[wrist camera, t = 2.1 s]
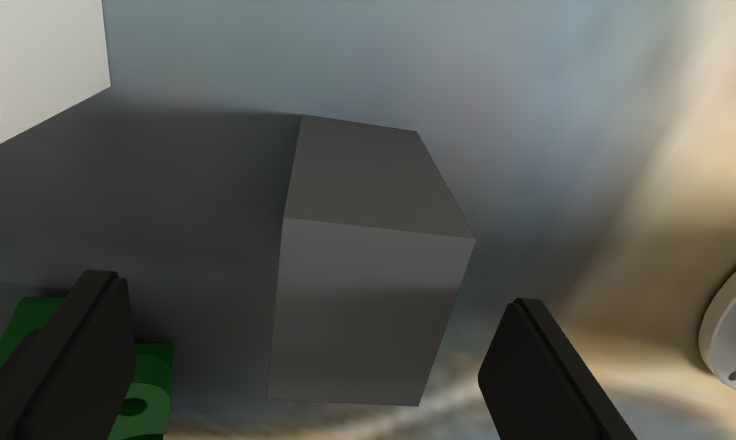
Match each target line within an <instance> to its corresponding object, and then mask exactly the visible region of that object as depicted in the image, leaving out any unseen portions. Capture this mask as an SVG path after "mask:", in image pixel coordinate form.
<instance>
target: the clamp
mask: <svg viewBox="0 0 736 440" xmlns="http://www.w3.org/2000/svg"><path fill="white" fill-rule="evenodd" d="M63 300H64V298H61V297H24V298H22V299H21V301H20V302H19V304H18V306H17V308H16V310H15V312H14V314H13V316H12V318H11V320H10V322H9V325H8V327H7V329H6V331H5V333H4V335H3V337H2V339H1V341H0V368H1V366H2V365H3V364H4V363H5V361H6V360H7V359H8V357H9V356H10V355H11V353H12V352H13V351H14V350H15V348H16V347H17V346H18V344H19V343H20V342H21V340H22V339H23V338H24V337H25V336H26V335H27V334H28V333H29V332H30V331H31V330H33V329H42V328H43V327H44V325H45V324H46V323H47V321H48V320H49V319H50V317H51V316H52V315H53V313H54V312H55V310H56V309H57V308H58V306H59V305H60V304H61V302H62V301H63ZM134 346H135V354H136V371H135V375H134V378H133V381H132V383H131V385H130V388H129V390H128V392H127V395H126V397H125V399H124V402H123V404H122V406H121V409H120V411H119V413H118V416H117V418H116V420H115V423H114V425H113V427H112V430H111V432H110V434H109V437H108V439H107V440H163V434H167V429H168V421H169V414H170V406H171V391H172V369H171V368H172V351H173V344H168V343H141V344H134Z"/></svg>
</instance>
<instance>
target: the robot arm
mask: <svg viewBox="0 0 736 440" xmlns="http://www.w3.org/2000/svg"><path fill="white" fill-rule="evenodd" d="M699 350H700V354H701V358H702V360H703V361H704V363H705V364H706V365H707V367H708V368H709V369H710V370H711V371H712V372H713V373H714V374H715V375H716V376H717V378H718V379H719V380H720V381H721V382H723V383H724V384H726V385H727V386H729V387H731V388H733V389H735V390H736V272H735V273H734V274H733V275H732V276H731V277H730V278H729V279H728V280H727V281H726V282H725V284H724V285H723V286H722V288H721V289H720V290H719V291H718V293H717V294H716V295H715V297H714V298H713V300H712V302H711V304H710V306H709V307H708V309H707V311H706V313H705V315H704V318H703V321H702V325H701V328H700V331H699ZM135 371H136V354H135V346H134V337H133V329H132V320H131V312H130V304H129V295H128V287H127V281H126V279H124V278H119V276H118V274H117V272H115V271H101V270H86V271H85V272H84V273H83V274H82V275H81V277H80V278H79V279H78V281H77V282H76V283H75V285H74V286H73V287H72V289H71V290H70V292H69V293H68V294H67V296H66V297H65V298H64V300H63V301H62V302H61V304H60V305H59V306H58V308H57V309H56V310H55V312H54V313H53V315H52V316H51V317H50V319H49V320H48V321H47V323H46V324H45V325H44V327H43V328H42V329H33V330H31V331H30V332H29V333H28V334H27V335H26V336H25V337H24V338H23V339H22V340H21V342H20V343H19V344H18V346H17V347H16V348H15V350H14V351H13V352H12V353H11V355H10V356H9V357H8V359H7V360H6V361H5V363H4V364H3V365H2V366H1V368H0V440H107V439H108V437H109V434H110V432H111V430H112V427H113V425H114V423H115V420H116V418H117V416H118V413H119V411H120V409H121V406H122V404H123V402H124V399H125V397H126V395H127V392H128V390H129V388H130V385H131V383H132V381H133V378H134V375H135ZM478 384H479V387H480V390H481V392H482V395H483V397H484V400H485V402H486V405H487V407H488V409H489V412H490V414H491V417H492V419H493V422H494V424H495V427H496V429H497V432H498V434H499V437H500V439H501V440H638V439H637V438H636V437H635V435H634V434H633V432H632V431H631V429H630V428H629V426H628V425H627V424H626V422H625V421H624V419H623V418H622V416H621V415H620V413H619V412H618V411H617V409H616V408H615V406H614V405H613V403H612V402H611V400H610V399H609V398H608V396H607V395H606V393H605V392H604V390H603V389H602V388H601V386H600V385H599V383H598V382H597V380H596V379H595V377H594V376H593V375H592V373H591V372H590V370H589V369H588V367H587V366H586V364H585V363H584V362H583V360H582V359H581V357H580V356H579V354H578V353H577V352H576V350H575V349H574V347H573V346H572V344H571V343H570V341H569V340H568V339H567V337H566V336H565V334H564V333H563V331H562V330H561V328H560V327H559V326H558V324H557V323H556V321H555V320H554V318H553V317H552V315H551V314H550V313H549V311H548V310H547V308H546V307H545V305H544V304H543V303H542V302H541V301H540V300H538V299H529V298H516V299H515V300H514V301H513V303H509V304H508V306H507V307H506V310H505V312H504V314H503V317H502V319H501V321H500V324H499V326H498V328H497V331H496V333H495V335H494V338H493V340H492V342H491V345H490V347H489V349H488V352H487V354H486V356H485V358H484V361H483V363H482V365H481V368H480V370H479V373H478Z"/></svg>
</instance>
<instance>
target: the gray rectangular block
mask: <svg viewBox="0 0 736 440" xmlns="http://www.w3.org/2000/svg"><path fill="white" fill-rule="evenodd" d="M476 240H477V239H476V237H475V235H474V234H473V232H472V230H471V228H470V226H469V225H468V223H467V221H466V219H465V217H464V216H463V214H462V212H461V210H460V208H459V207H458V205H457V203H456V201H455V199H454V198H453V196H452V194H451V192H450V190H449V189H448V187H447V185H446V183H445V182H444V180H443V178H442V176H441V174H440V173H439V171H438V169H437V167H436V165H435V164H434V162H433V160H432V158H431V156H430V155H429V153H428V151H427V149H426V147H425V146H424V144H423V142H422V140H421V138H420V137H419V135H418V133H417V132H416V131H409V130H403V129H396V128H389V127H382V126H376V125H369V124H362V123H356V122H349V121H342V120H336V119H329V118H322V117H316V116H309V115H302V119H301V124H300V130H299V135H298V140H297V146H296V151H295V157H294V162H293V167H292V173H291V178H290V184H289V189H288V194H287V200H286V205H285V210H284V216H283V225H282V236H281V247H280V257H279V268H278V279H277V290H276V301H275V311H274V322H273V333H272V344H271V355H270V365H269V376H268V387H267V398H266V399H272V400H293V401H314V402H335V403H356V404H377V405H398V406H419V403H420V400H421V397H422V394H423V391H424V389H425V386H426V383H427V380H428V377H429V374H430V371H431V369H432V366H433V363H434V360H435V357H436V354H437V351H438V349H439V346H440V343H441V340H442V337H443V334H444V331H445V328H446V326H447V323H448V320H449V317H450V314H451V311H452V308H453V306H454V303H455V300H456V297H457V294H458V291H459V288H460V285H461V283H462V280H463V277H464V274H465V271H466V268H467V265H468V263H469V260H470V257H471V254H472V251H473V248H474V245H475V242H476Z"/></svg>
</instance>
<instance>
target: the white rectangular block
mask: <svg viewBox="0 0 736 440" xmlns="http://www.w3.org/2000/svg"><path fill="white" fill-rule="evenodd" d="M110 86H111V85H110V75H109V66H108V57H107V48H106V39H105V30H104V20H103V11H102V2H101V0H0V144H1V143H3V142H4V141H6V140H8V139H10V138H12V137H14V136H16V135H18V134H20V133H22V132H24V131H26V130H28V129H29V128H31V127H33V126H35V125H37V124H39V123H41V122H43V121H45V120H47V119H49V118H51V117H53V116H54V115H56V114H58V113H60V112H62V111H64V110H66V109H68V108H70V107H72V106H74V105H76V104H78V103H80V102H81V101H83V100H85V99H87V98H89V97H91V96H93V95H95V94H97V93H99V92H101V91H103V90H105V89H106V88H108V87H110Z"/></svg>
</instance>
